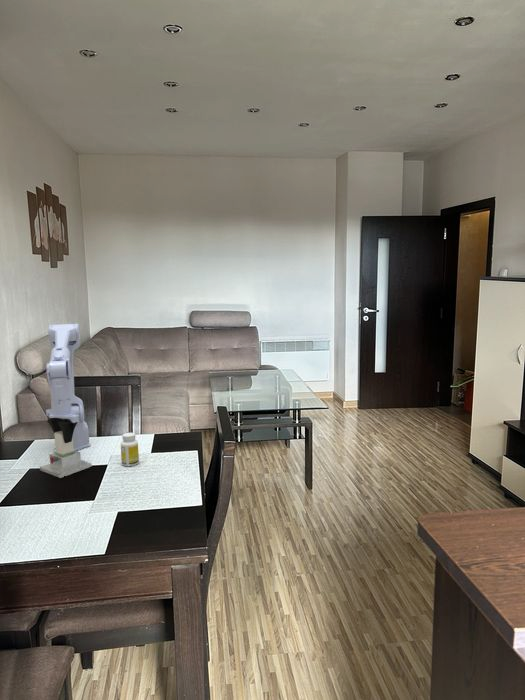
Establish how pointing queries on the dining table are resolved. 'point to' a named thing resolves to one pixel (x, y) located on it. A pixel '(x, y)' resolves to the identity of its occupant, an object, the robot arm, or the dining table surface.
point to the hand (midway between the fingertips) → (64, 440)
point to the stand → (65, 464)
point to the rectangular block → (63, 445)
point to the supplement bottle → (129, 450)
